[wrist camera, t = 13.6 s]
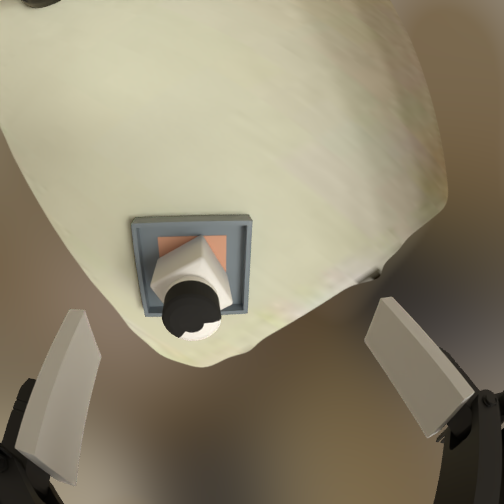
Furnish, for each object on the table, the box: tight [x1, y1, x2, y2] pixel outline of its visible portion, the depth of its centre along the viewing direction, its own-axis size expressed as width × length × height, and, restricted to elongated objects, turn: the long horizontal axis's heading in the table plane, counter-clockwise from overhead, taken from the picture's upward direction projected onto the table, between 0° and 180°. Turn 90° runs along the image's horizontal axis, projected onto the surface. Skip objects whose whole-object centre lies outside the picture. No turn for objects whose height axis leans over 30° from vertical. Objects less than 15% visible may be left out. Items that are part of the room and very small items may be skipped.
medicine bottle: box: [150, 235, 233, 341], centre depth 31 cm, size 7×7×12 cm
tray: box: [131, 215, 252, 317], centre depth 36 cm, size 14×15×2 cm
